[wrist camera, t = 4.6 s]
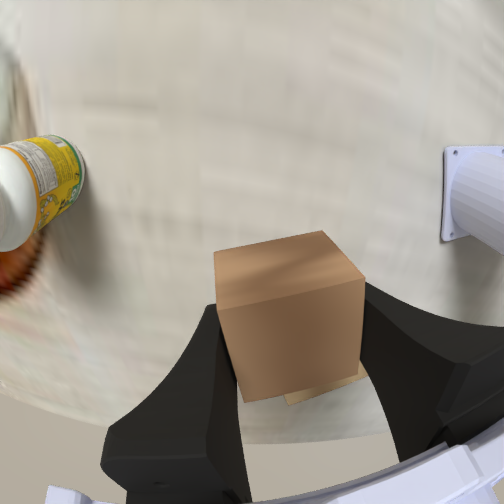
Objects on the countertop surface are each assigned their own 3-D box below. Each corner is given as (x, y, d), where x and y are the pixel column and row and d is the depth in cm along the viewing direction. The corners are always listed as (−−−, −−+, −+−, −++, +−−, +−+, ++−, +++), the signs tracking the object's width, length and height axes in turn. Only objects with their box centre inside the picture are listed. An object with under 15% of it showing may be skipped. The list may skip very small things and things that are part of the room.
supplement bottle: (69, 119, 16) (-29, 133, 7) (99, 190, 18) (21, 252, 9) (15, 158, 16) (-79, 196, 7) (43, 222, 18) (-36, 291, 9)
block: (322, 230, 12) (365, 277, 9) (326, 316, 14) (357, 374, 11) (213, 252, 12) (216, 310, 9) (234, 336, 14) (244, 403, 10)
